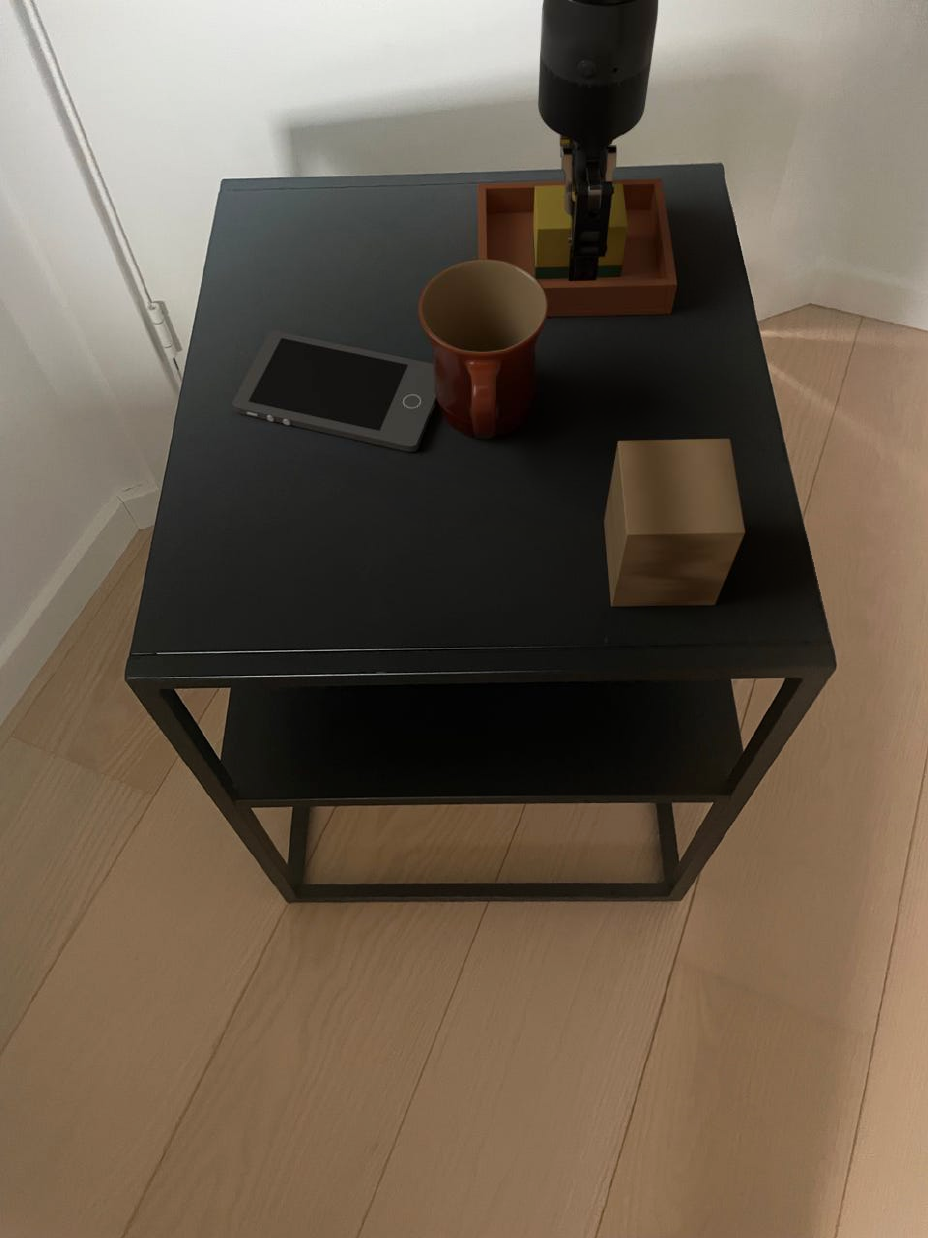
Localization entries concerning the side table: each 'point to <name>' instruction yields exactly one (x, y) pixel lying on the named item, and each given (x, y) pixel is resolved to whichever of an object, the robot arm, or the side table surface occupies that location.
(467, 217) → the side table surface
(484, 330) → the mug
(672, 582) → the tall wooden block
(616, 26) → the robot arm
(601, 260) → the sponge
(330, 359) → the smartphone
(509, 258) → the tray
